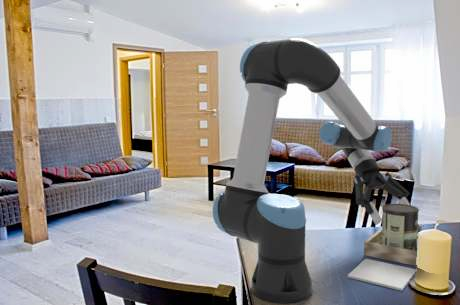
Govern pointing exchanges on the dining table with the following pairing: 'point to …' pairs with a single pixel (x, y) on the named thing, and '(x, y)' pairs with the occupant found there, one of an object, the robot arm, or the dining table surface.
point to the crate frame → (388, 250)
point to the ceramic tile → (382, 274)
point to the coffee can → (400, 226)
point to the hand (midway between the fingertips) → (396, 219)
